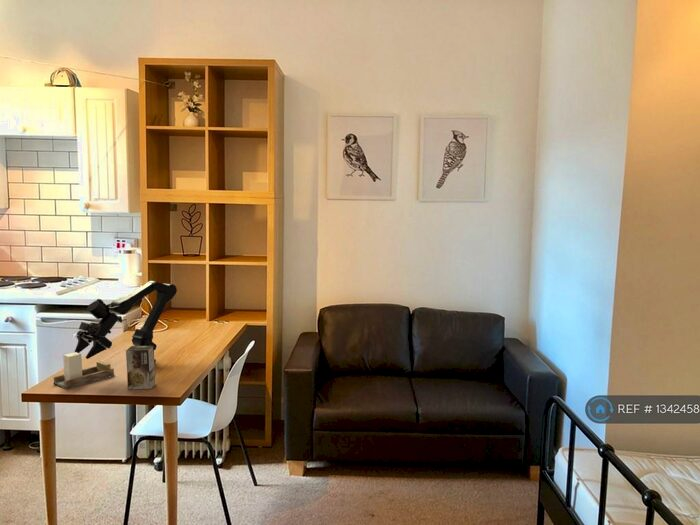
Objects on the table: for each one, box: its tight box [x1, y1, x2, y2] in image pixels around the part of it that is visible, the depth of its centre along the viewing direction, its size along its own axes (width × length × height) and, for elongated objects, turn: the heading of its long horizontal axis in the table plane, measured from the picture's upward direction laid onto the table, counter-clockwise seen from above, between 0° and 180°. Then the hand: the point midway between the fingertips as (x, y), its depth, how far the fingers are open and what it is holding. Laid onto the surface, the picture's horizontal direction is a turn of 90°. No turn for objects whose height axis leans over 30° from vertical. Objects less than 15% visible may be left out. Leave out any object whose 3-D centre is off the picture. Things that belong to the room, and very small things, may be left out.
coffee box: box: [125, 345, 156, 390], centre depth 204 cm, size 9×6×16 cm
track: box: [53, 360, 115, 390], centre depth 212 cm, size 20×10×5 cm, turn 146°
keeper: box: [62, 351, 83, 381], centre depth 208 cm, size 5×4×11 cm
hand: (80, 356), depth 210 cm, fingers open, 9 cm apart
